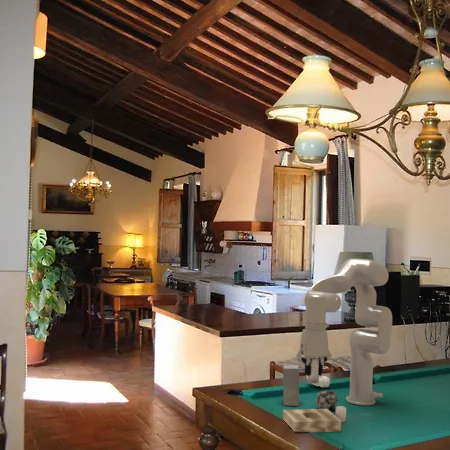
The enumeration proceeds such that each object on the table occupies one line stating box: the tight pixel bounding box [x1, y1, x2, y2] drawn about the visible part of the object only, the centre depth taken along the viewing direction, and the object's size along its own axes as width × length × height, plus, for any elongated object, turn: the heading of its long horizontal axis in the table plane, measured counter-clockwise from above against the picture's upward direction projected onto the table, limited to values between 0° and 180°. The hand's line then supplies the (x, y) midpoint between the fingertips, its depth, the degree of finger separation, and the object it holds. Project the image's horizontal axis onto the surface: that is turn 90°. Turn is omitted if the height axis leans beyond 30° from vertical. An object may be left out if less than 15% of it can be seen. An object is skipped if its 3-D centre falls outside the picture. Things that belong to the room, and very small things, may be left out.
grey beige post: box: [307, 357, 319, 383], centre depth 219 cm, size 4×4×9 cm
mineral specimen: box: [315, 389, 339, 410], centre depth 239 cm, size 12×9×10 cm
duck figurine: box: [305, 375, 331, 388], centre depth 274 cm, size 12×8×11 cm
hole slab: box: [282, 408, 342, 433], centre depth 219 cm, size 18×14×4 cm
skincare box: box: [282, 364, 300, 407], centre depth 247 cm, size 8×7×16 cm
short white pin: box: [335, 405, 347, 423], centre depth 227 cm, size 4×4×5 cm
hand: (313, 374), depth 219 cm, fingers closed on grey beige post, 4 cm apart
